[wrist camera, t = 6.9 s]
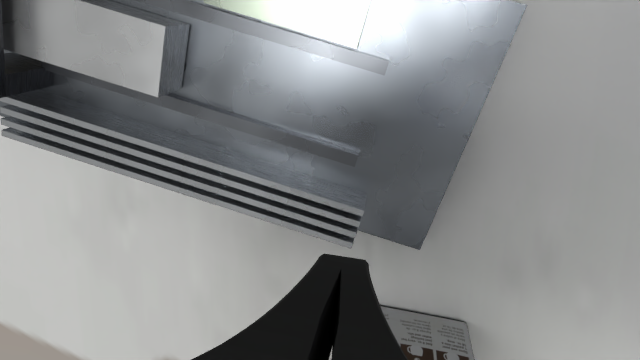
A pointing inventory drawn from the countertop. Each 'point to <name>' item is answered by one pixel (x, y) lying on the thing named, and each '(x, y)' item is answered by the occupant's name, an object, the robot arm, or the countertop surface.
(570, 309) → the countertop surface
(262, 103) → the heatsink base
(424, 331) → the coffee box
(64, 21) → the rectangular block
